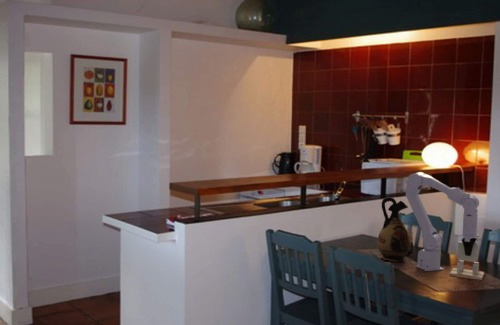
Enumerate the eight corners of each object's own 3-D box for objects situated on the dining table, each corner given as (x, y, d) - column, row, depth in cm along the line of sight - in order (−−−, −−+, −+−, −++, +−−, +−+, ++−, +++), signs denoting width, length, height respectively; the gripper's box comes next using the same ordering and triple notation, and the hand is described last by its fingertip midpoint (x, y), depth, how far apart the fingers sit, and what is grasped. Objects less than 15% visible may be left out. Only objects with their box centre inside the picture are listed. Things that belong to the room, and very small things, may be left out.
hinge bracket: (481, 279, 246) (482, 268, 246) (449, 275, 252) (450, 264, 252) (484, 274, 255) (484, 262, 255) (453, 270, 261) (453, 259, 261)
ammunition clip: (393, 253, 291) (394, 229, 290) (391, 252, 293) (392, 228, 292) (413, 252, 293) (414, 229, 292) (411, 251, 295) (412, 228, 294)
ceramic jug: (406, 256, 285) (409, 195, 283) (412, 264, 270) (415, 200, 267) (371, 254, 287) (373, 194, 284) (375, 262, 272) (377, 199, 269)
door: (476, 262, 252) (477, 244, 251) (457, 259, 255) (458, 242, 255) (477, 260, 255) (478, 242, 254) (458, 258, 258) (459, 240, 258)
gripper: (477, 228, 245) (476, 259, 246) (481, 222, 258) (480, 252, 259) (460, 226, 248) (458, 257, 249) (464, 220, 261) (463, 250, 262)
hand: (468, 254), depth 254 cm, fingers closed on door, 2 cm apart
